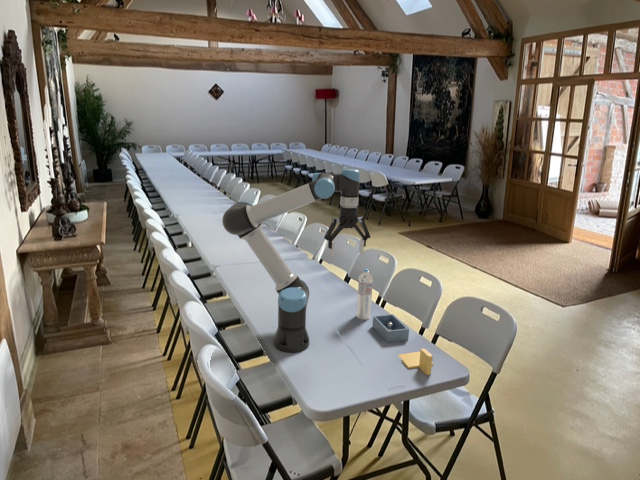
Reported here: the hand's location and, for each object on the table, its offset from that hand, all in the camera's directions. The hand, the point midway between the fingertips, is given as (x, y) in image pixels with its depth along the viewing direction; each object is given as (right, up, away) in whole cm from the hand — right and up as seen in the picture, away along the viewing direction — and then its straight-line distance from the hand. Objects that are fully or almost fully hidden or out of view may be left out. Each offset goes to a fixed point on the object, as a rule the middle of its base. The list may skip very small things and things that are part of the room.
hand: (346, 254), depth 203 cm
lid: (+27, -42, -12) cm, 52 cm away
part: (+21, -34, +13) cm, 42 cm away
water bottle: (+10, -32, +25) cm, 42 cm away
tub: (+20, -36, +9) cm, 42 cm away
